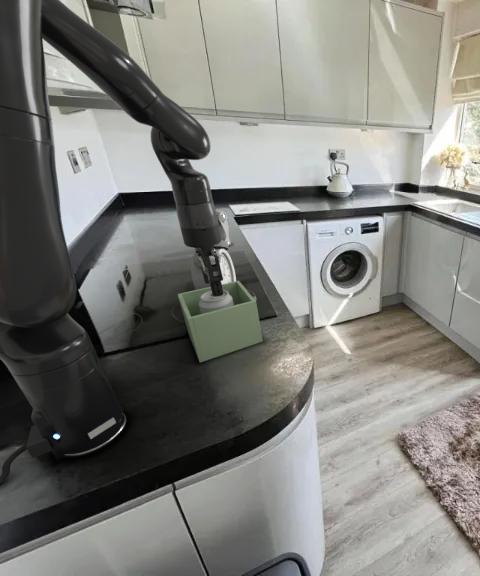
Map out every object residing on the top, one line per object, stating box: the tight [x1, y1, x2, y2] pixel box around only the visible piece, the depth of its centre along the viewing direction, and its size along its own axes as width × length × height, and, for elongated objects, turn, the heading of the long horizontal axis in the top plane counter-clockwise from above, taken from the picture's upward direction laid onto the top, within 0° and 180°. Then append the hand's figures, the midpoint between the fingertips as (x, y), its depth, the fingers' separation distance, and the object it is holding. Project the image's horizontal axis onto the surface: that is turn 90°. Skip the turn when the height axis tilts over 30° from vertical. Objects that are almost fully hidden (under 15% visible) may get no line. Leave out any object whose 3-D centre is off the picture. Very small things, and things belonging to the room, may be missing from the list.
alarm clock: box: [190, 240, 237, 290], centre depth 97 cm, size 16×9×22 cm, turn 12°
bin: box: [177, 280, 264, 363], centre depth 81 cm, size 15×15×12 cm
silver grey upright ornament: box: [216, 210, 232, 247], centre depth 146 cm, size 7×7×15 cm
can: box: [199, 290, 234, 314], centre depth 81 cm, size 8×8×12 cm
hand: (214, 288), depth 78 cm, fingers open, 8 cm apart
